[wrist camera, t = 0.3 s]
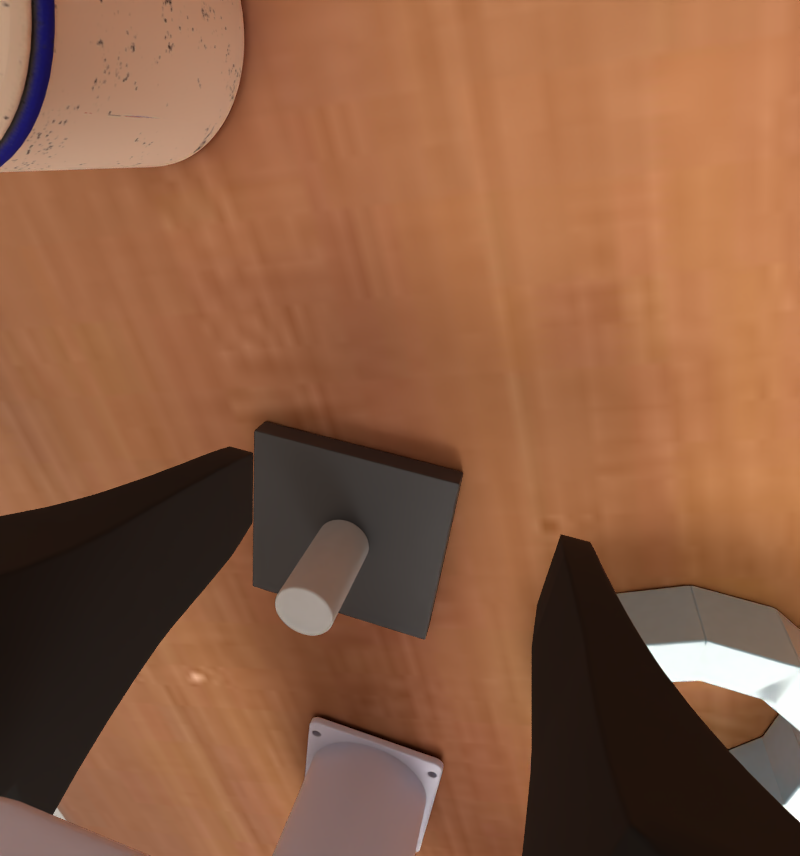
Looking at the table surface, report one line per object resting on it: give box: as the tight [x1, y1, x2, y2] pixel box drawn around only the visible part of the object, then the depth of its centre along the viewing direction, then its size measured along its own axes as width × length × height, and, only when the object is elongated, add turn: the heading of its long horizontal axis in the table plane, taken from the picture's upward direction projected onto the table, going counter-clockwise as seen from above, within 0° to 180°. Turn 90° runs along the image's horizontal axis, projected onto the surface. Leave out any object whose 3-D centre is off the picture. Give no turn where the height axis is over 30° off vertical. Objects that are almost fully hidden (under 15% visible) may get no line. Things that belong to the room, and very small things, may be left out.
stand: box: [253, 422, 463, 640], centre depth 24 cm, size 9×9×6 cm
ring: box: [617, 586, 800, 822], centre depth 24 cm, size 12×12×3 cm
